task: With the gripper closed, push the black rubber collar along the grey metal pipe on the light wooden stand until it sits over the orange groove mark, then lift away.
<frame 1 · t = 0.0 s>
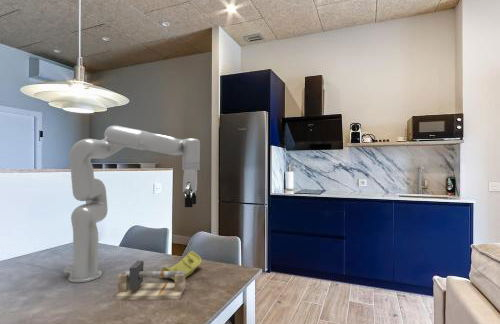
hand: (190, 205, 127), 31 cm above the table, tool pointing down, fingers open, 9 cm apart
pipe stand: (152, 292, 111), on the table
plastic component: (182, 274, 131), on the table
collar: (136, 274, 110), point 7 cm above the table, slide at 0.0 cm
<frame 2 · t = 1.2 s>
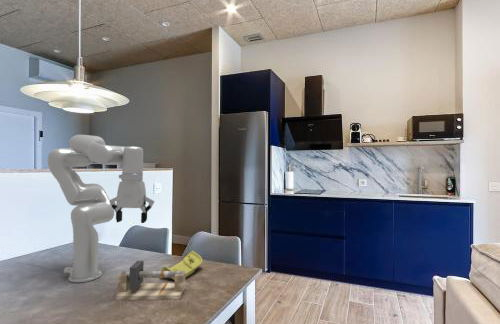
hand: (131, 222, 113), 27 cm above the table, tool pointing down, fingers open, 9 cm apart
nothing on the table moved.
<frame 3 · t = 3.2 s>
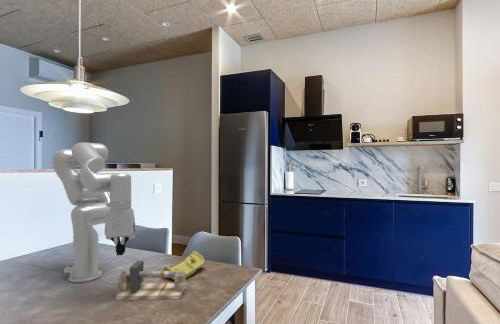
hand: (120, 254, 110), 15 cm above the table, tool pointing down, fingers closed
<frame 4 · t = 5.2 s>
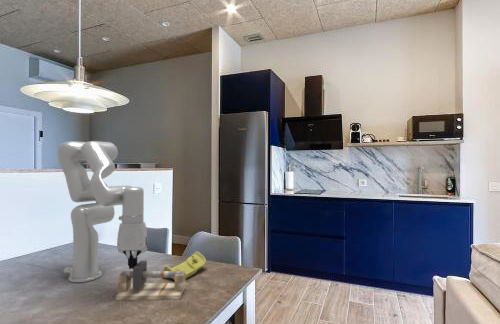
hand: (132, 267, 110), 10 cm above the table, tool pointing down, fingers closed
collar: (140, 274, 110), point 7 cm above the table, slide at 1.3 cm, touching gripper
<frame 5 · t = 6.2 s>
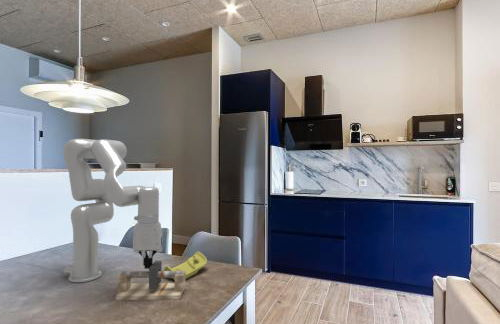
hand: (147, 267, 110), 10 cm above the table, tool pointing down, fingers closed
collar: (155, 274, 111), point 7 cm above the table, slide at 7.1 cm, touching gripper
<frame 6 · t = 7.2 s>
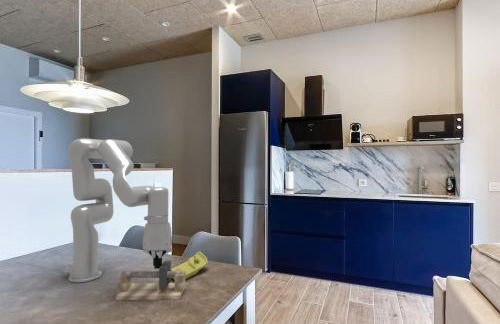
hand: (157, 267, 111), 10 cm above the table, tool pointing down, fingers closed
collar: (165, 274, 111), point 7 cm above the table, slide at 10.8 cm, touching gripper
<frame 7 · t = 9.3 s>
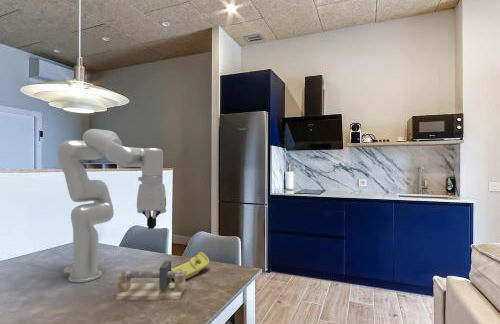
hand: (151, 228, 111), 25 cm above the table, tool pointing down, fingers closed
collar: (165, 274, 111), point 7 cm above the table, slide at 10.9 cm
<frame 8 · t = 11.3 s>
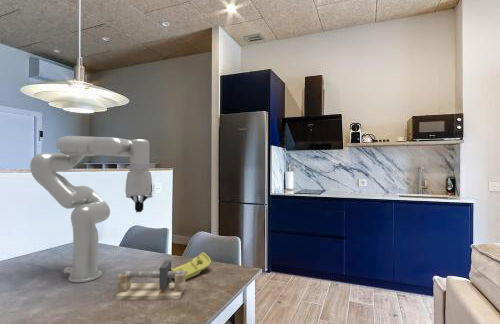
hand: (139, 211, 122), 29 cm above the table, tool pointing down, fingers closed
at the end: collar slide at 10.9 cm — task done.
